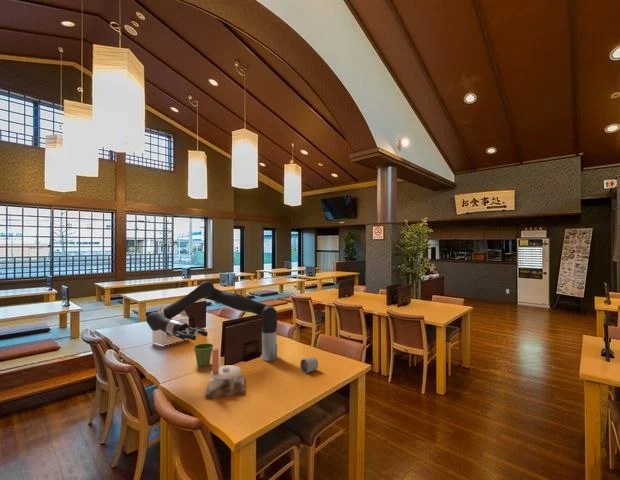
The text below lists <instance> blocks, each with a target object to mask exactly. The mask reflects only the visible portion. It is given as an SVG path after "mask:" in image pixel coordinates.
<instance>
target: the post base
mask: <svg viewBox="0 0 620 480" xmlns="http://www.w3.org/2000/svg"><path fill="white" fill-rule="evenodd" d="M210 379H212V377H211V378H209V379H208V383H207V387H206V390H205V391H206V392H205V396H204V399H205V400H207V399H206V398H209V399H217V397H218V398H227V397H233V396H244V395H245V375H244V374H243V375H241V374H240V375H238V376H237V377H235V378H234V377H232V378H230V379H227V380H217V387H215V388H213V389H209V380H210Z"/></svg>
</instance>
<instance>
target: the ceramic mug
mask: <svg viewBox="0 0 620 480" xmlns="http://www.w3.org/2000/svg"><path fill="white" fill-rule="evenodd" d="M299 365H300V366H299V367H300V369H301V371H302V373H304V374H308V373H311V372H315V371H316V370H317V369H318V368H319V361H318V360H317V358H316V357H314V356H312V357H307V358H302V359H301V360H300V364H299Z"/></svg>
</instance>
